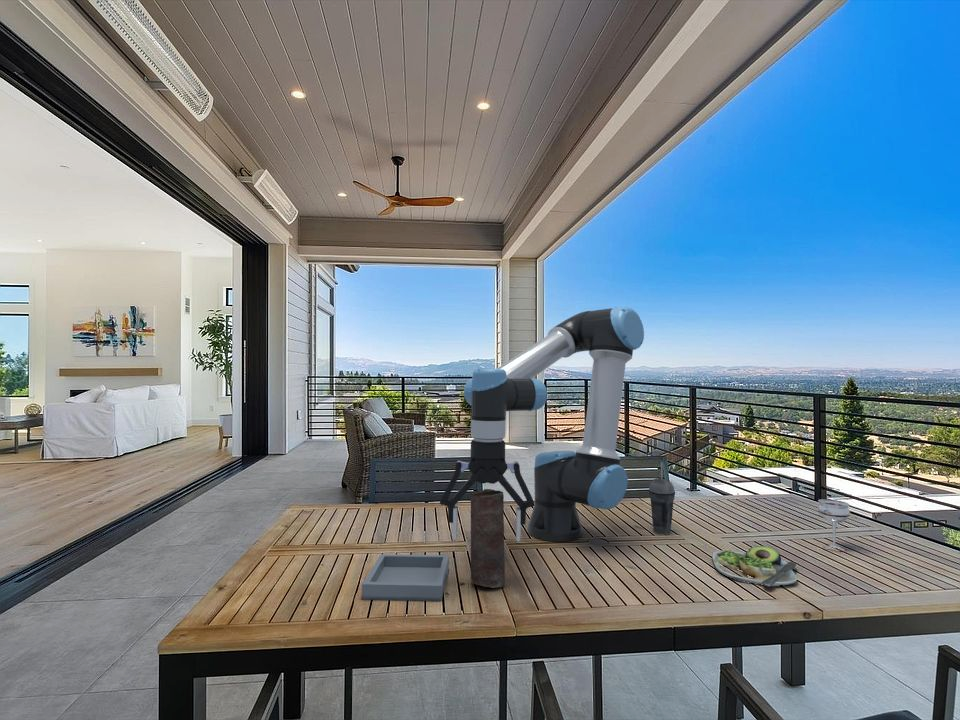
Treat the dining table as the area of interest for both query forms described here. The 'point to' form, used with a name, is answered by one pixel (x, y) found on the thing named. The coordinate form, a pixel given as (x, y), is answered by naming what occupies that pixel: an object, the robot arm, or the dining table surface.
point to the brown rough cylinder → (487, 538)
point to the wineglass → (834, 513)
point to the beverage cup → (662, 504)
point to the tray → (407, 578)
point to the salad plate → (757, 566)
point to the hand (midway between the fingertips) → (486, 538)
